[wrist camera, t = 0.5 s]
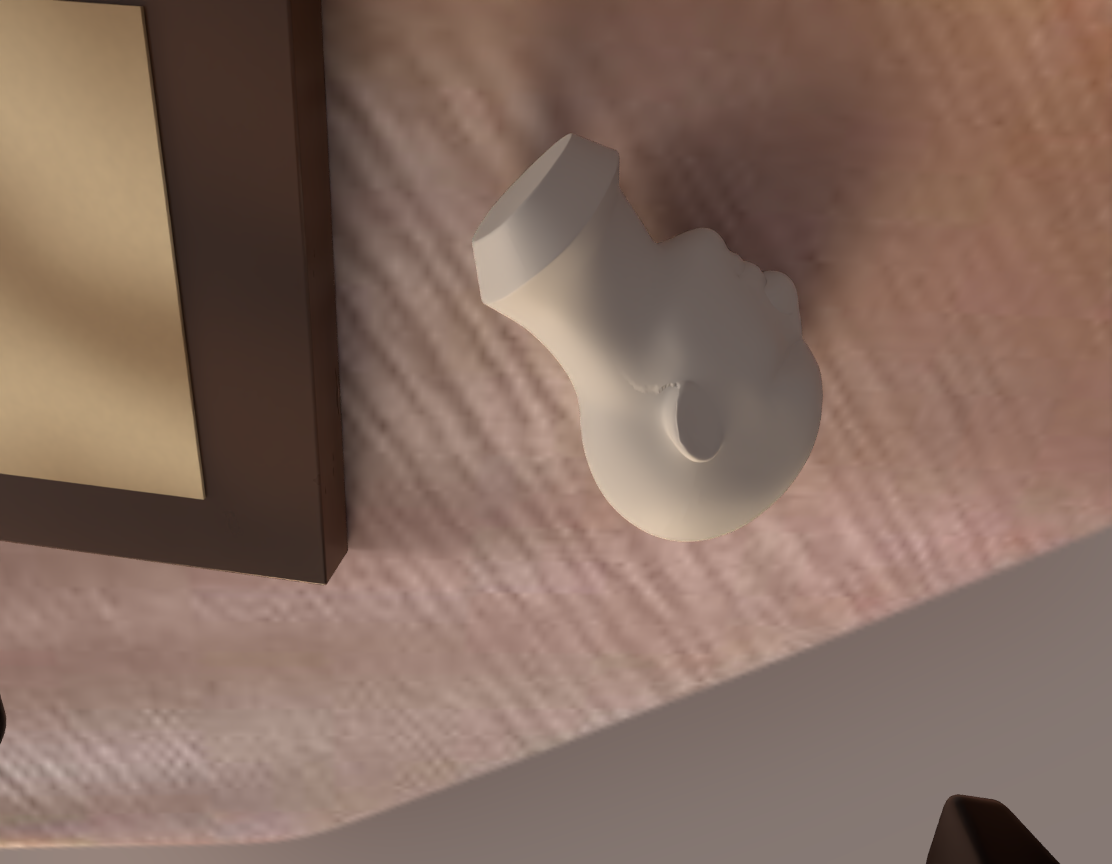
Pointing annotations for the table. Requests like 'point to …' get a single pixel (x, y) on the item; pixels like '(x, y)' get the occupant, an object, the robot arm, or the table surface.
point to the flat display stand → (169, 285)
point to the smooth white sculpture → (655, 346)
